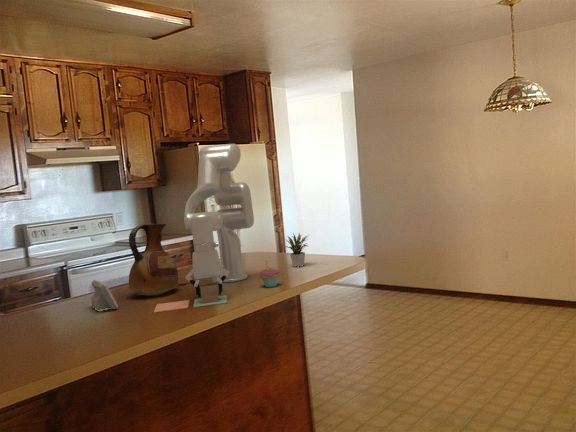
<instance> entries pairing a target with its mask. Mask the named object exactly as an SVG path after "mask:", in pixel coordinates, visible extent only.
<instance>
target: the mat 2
mask: <svg viewBox="0 0 576 432" xmlns="http://www.w3.org/2000/svg"><path fill="white" fill-rule="evenodd" d="M218 298H219V301H218V302H211V303H204V304H202V297H200V298H196V299H194V301H193V308H199V307H200V308H201V307H207V306H209V307H210V306H216V305H222V304H227V303H228V298H227V295H226V294H225V295H218Z"/></svg>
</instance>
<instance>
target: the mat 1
mask: <svg viewBox="0 0 576 432" xmlns="http://www.w3.org/2000/svg"><path fill="white" fill-rule="evenodd" d="M189 304H190V299H188V300H187V299H185V300H180V301H171V302H164V303H157V304H156V306H155V308H154V310H153V314H155V313H161V312H162V313H163V312H168V311H170V312H171V311H177V310H178V311H179V310H185V309H189Z"/></svg>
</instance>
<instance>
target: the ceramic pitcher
mask: <svg viewBox="0 0 576 432" xmlns="http://www.w3.org/2000/svg"><path fill="white" fill-rule="evenodd" d="M166 226H167V223H156V224H155V223H139V224H138V225H137V226H135V227H134V228H133V229H131V231H130V232H129V236H128V245H129V248H130V250H131V253H132V255H133V258H134V262H133V264H132V265H131V268H130V271H129V275H128V287H129V291H130V292H132V293H135V294H136V295H139V296H159V295H163V294H165V293H167V292H168V291H169V292H170V291H171V290H173V289H175V288H177V287H178V285H179V272H178V268H177V265H176V263H175V261H174V259H173V258H172V256H170V254H169V253H167V252H166V251H165V250H164V247H163V245H162V239H163V237H162V231H163V229H164V228H165V227H166ZM139 230H143V231H144V232H145V236H146V245H145V248H144V251H143V252H140V251H139V249H138V247H137V242H136V238H137V233H138V231H139Z"/></svg>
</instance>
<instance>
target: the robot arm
mask: <svg viewBox="0 0 576 432" xmlns="http://www.w3.org/2000/svg"><path fill="white" fill-rule="evenodd" d="M241 155H242V153H241V149H240V147H239V145H238V144H236V143H226V144H224V143H223V144H217V145H215V144H214V145H208V146H204V147H202V148H200V149H199V151H198V156H199V158H198V172H197V173H198V175H197V188H196V189H195V190H193V192H192V193H191V195H189V197H188V199H187V201H186V203H185V206H184V221H183V222H184V223H183V224H184V228H185V230H186V231H187V233H191V234H192V242H193V243H192V245H193V251H194V252H192V255H191V261H192V265H191V266H192V268H191V270H190V271H189V272H188V273H187V274H186V275H185V279H186V280H187V281H188V282H189V283H190V284H192V286H193V287H194V288H195V295H197V298H201V297H202V296H201V288H200V285H199V284H200V280H205V279H214V278H215V279H216V280H217V289H218V295H219V296H222V292H223V283H233V282H240V281H243V280H247V278H248V274H247V273H244V265H243V264H244V263H243V256H242V246H241V245H242V244H241V239H240V237H239V235H238V234H237V233H236V232H235V231H234V230H242V229H243V230H245V229H250V228H252V227H253V225H254V224H255V223H254V221H255V220H254V219H255V217H254V208H253V203H252V202H253V201H252V195H251V193H252V192H251V190H250V187H249V186H250V185H248V184H247V183H246V182H233V181H232V174H231V172H233V171H235V169H236V168H237V167H238V164H239V163H240V160H241ZM211 197H213V199H214V202H215V204H216V205H217V206H223V207H224V206H225V207H226V206H236V205H239V206H240V207H228V208H220V209H218V210H216V211H213V210H212V211H204V212H195V211H196V209H197V207H198V206H199V205H200V204H201V203H202V202H204V201H206V200H208V199H209V198H211ZM214 232H216V234H217V235H216V236H217V241H218V242H215V238H214ZM217 247H218V249H216V248H217ZM218 251H219V252H218ZM191 276H193V278H194V279H193V278H191Z"/></svg>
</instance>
